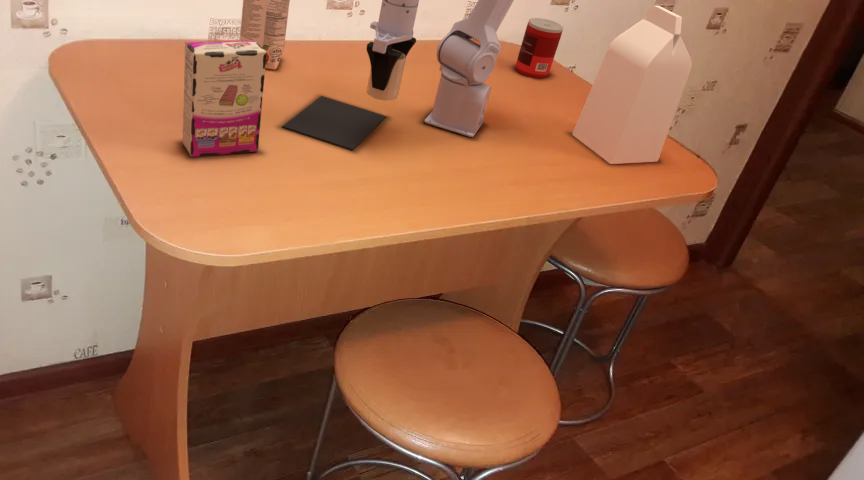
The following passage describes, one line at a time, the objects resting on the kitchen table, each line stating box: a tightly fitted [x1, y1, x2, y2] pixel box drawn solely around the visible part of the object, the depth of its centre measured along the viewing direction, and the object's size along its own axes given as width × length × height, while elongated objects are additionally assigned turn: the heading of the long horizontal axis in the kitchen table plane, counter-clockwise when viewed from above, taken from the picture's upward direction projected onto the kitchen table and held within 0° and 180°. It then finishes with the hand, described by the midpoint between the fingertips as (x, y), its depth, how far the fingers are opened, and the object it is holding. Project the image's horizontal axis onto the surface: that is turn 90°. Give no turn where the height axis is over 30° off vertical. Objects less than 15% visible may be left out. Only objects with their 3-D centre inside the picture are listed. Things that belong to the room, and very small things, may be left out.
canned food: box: [515, 17, 564, 79], centre depth 176 cm, size 8×8×11 cm
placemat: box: [281, 95, 387, 151], centre depth 139 cm, size 13×17×1 cm
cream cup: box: [366, 49, 407, 102], centre depth 132 cm, size 5×5×7 cm
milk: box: [571, 5, 693, 165], centre depth 144 cm, size 12×12×26 cm
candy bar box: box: [182, 40, 266, 158], centre depth 120 cm, size 11×5×16 cm, turn 118°
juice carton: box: [239, 0, 291, 70], centre depth 151 cm, size 8×9×19 cm
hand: (384, 83), depth 133 cm, fingers closed on cream cup, 5 cm apart
